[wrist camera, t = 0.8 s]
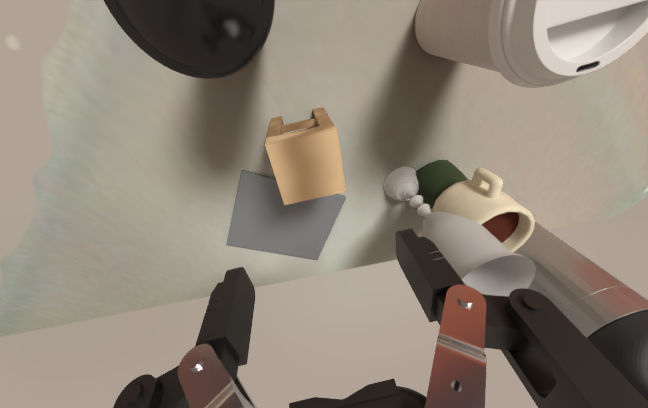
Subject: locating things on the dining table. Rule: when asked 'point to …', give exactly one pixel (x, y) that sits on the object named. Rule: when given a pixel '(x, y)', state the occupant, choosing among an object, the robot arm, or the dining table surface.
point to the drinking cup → (197, 32)
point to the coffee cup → (531, 35)
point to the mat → (280, 219)
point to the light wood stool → (306, 158)
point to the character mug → (476, 201)
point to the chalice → (464, 242)
